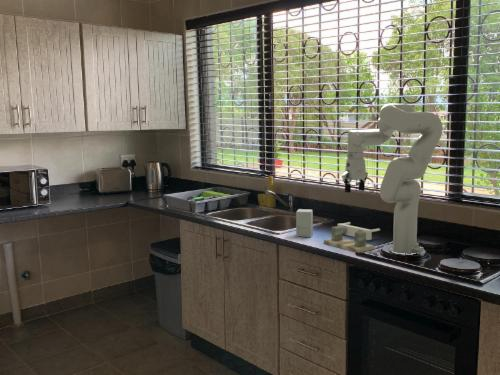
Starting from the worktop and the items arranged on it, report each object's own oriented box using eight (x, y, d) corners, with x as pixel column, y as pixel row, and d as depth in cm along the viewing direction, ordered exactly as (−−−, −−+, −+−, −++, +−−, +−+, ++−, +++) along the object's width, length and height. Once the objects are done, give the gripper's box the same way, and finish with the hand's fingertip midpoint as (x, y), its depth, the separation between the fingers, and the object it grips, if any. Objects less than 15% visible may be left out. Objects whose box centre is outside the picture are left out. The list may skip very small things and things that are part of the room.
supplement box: (313, 234, 249) (313, 209, 248) (310, 237, 242) (311, 211, 241) (298, 233, 251) (298, 208, 250) (295, 236, 244) (295, 211, 243)
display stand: (373, 249, 219) (374, 232, 218) (358, 252, 214) (358, 235, 213) (339, 240, 236) (339, 224, 235) (323, 243, 230) (323, 227, 229)
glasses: (379, 238, 240) (380, 228, 240) (367, 240, 235) (367, 230, 235) (348, 231, 257) (349, 221, 256) (336, 233, 251) (336, 224, 251)
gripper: (348, 157, 231) (348, 193, 234) (373, 155, 241) (372, 190, 244) (336, 156, 237) (336, 192, 240) (361, 154, 247) (360, 188, 250)
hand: (354, 191), depth 242 cm, fingers open, 9 cm apart
